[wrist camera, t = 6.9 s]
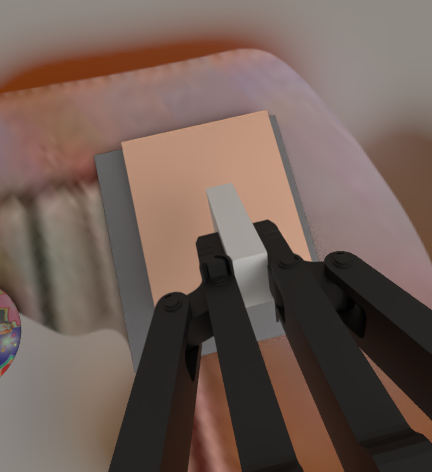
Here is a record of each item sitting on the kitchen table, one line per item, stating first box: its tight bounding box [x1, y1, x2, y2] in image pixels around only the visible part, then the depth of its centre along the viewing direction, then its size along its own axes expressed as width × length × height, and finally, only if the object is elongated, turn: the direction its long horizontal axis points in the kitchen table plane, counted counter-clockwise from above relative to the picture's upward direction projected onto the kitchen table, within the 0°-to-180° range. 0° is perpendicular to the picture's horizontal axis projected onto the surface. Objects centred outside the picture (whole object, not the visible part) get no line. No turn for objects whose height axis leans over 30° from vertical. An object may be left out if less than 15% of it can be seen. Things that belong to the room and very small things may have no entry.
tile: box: [121, 110, 312, 306], centre depth 26 cm, size 2×12×14 cm
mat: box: [94, 115, 319, 372], centre depth 27 cm, size 18×16×1 cm
